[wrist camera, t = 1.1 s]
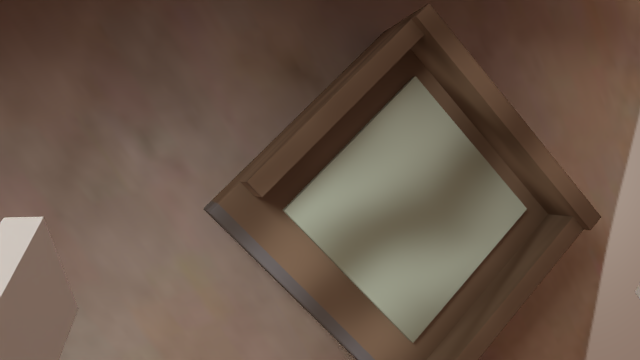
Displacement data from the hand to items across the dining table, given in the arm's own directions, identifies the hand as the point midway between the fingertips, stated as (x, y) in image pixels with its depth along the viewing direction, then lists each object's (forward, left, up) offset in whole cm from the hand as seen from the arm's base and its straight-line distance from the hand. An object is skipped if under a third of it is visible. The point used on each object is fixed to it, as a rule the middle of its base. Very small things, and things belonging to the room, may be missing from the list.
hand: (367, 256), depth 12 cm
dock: (+6, +6, -19) cm, 21 cm away
